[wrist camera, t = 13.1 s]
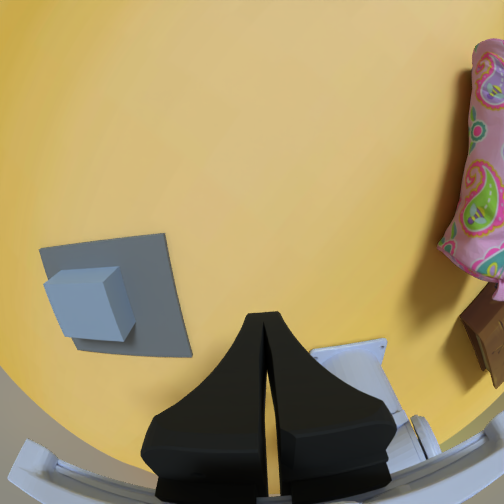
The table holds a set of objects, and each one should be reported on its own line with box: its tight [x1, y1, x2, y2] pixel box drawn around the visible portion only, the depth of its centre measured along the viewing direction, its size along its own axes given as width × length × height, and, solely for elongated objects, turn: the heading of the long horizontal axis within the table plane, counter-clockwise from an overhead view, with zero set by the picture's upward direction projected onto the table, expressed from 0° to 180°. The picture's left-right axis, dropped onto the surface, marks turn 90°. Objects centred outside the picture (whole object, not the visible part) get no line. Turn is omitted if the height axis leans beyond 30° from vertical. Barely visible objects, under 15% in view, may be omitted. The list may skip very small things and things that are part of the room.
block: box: [43, 266, 136, 342], centre depth 20 cm, size 6×3×7 cm
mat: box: [39, 233, 193, 357], centre depth 22 cm, size 12×14×1 cm
